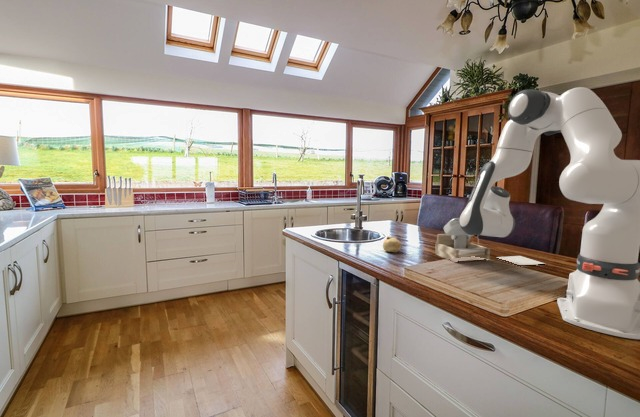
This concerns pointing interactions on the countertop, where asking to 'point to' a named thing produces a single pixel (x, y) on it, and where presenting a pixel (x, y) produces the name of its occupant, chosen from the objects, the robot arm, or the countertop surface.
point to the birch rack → (447, 250)
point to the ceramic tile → (520, 260)
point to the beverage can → (460, 242)
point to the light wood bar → (471, 252)
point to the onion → (391, 245)
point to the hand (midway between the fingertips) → (459, 238)
